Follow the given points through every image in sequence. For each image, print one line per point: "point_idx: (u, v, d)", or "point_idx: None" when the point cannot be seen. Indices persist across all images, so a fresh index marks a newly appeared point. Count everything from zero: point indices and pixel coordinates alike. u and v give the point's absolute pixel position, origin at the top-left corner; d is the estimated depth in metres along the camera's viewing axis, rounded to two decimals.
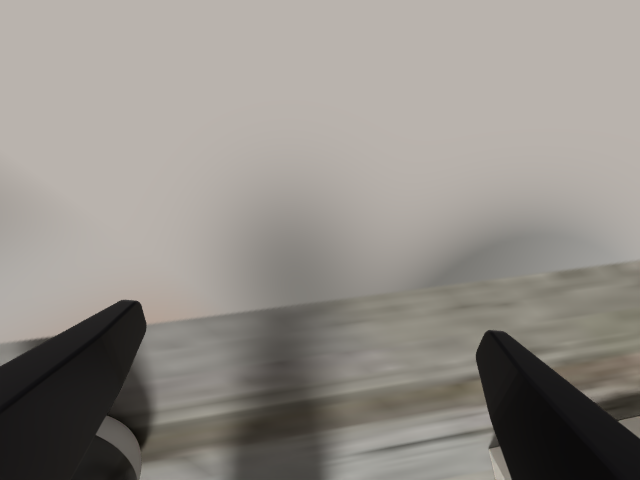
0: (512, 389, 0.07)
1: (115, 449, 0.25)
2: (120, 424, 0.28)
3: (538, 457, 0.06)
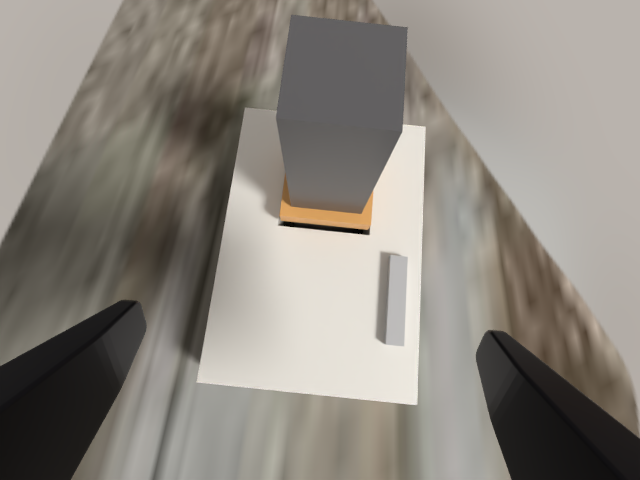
0: (512, 389, 0.07)
1: None
2: None
3: (538, 457, 0.06)
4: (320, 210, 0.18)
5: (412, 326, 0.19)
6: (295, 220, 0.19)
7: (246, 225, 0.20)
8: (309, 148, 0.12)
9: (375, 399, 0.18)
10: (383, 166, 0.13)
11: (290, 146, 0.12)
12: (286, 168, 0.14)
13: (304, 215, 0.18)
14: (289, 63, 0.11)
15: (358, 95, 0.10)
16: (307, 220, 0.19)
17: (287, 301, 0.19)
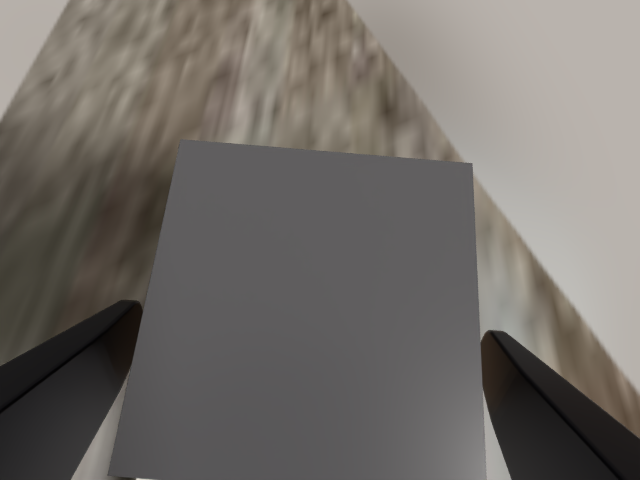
0: (512, 389, 0.07)
1: None
2: None
3: (538, 457, 0.06)
4: None
5: None
6: None
7: None
8: None
9: None
10: None
11: None
12: None
13: None
14: (165, 281, 0.04)
15: (353, 380, 0.04)
16: None
17: None
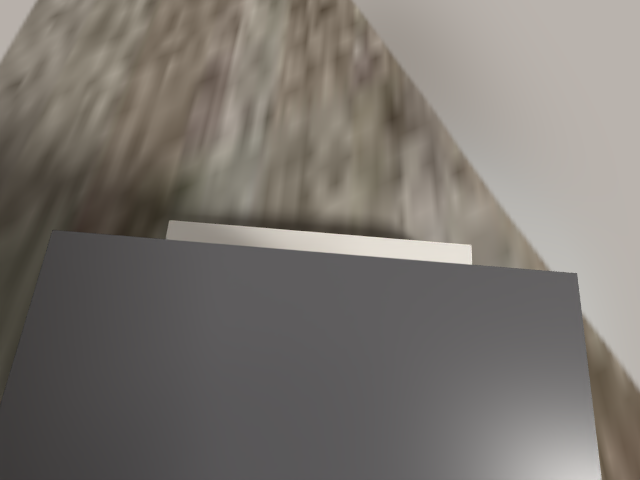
0: None
1: None
2: None
3: None
4: None
5: None
6: None
7: None
8: None
9: None
10: None
11: None
12: None
13: None
14: None
15: None
16: None
17: None
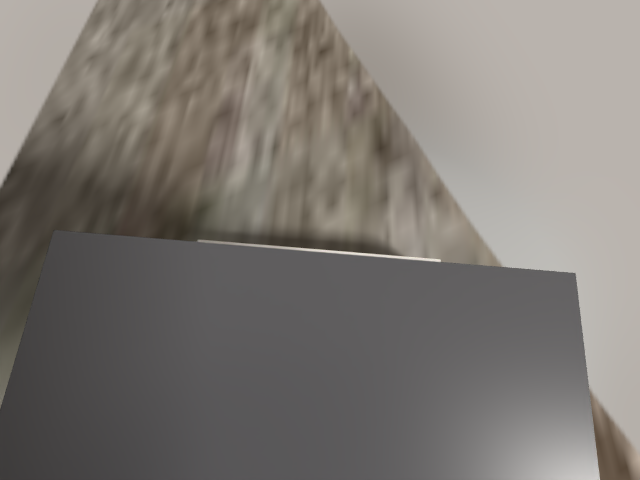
0: None
1: None
2: None
3: None
4: None
5: None
6: None
7: None
8: None
9: None
10: None
11: None
12: None
13: None
14: None
15: None
16: None
17: None
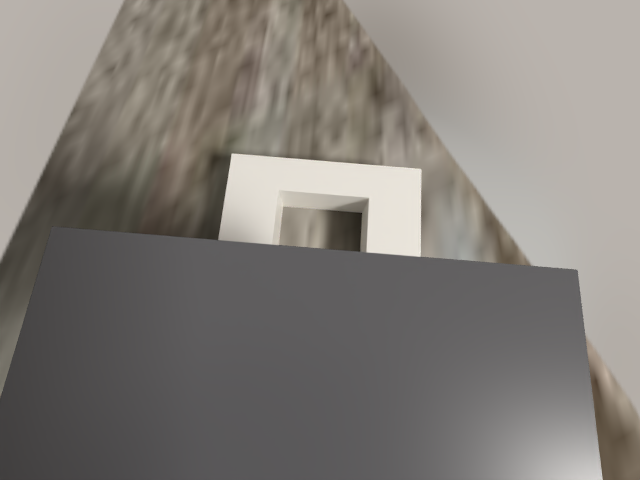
0: None
1: None
2: None
3: None
4: None
5: None
6: None
7: None
8: None
9: None
10: None
11: None
12: None
13: None
14: None
15: None
16: None
17: None
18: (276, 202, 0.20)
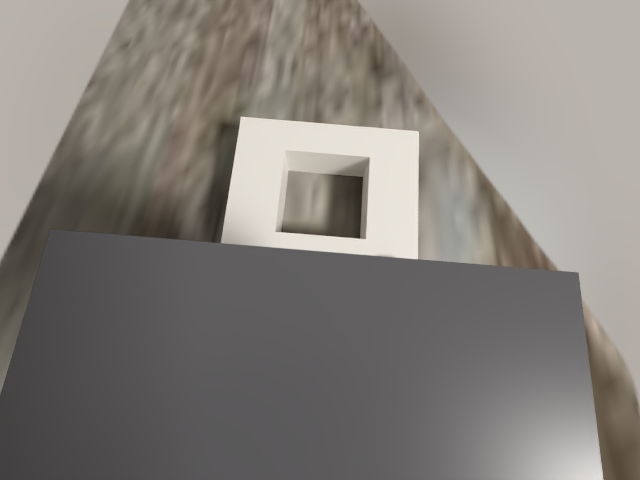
0: None
1: None
2: None
3: None
4: None
5: None
6: None
7: (244, 232, 0.20)
8: None
9: None
10: None
11: None
12: None
13: None
14: None
15: None
16: None
17: None
18: (283, 161, 0.21)
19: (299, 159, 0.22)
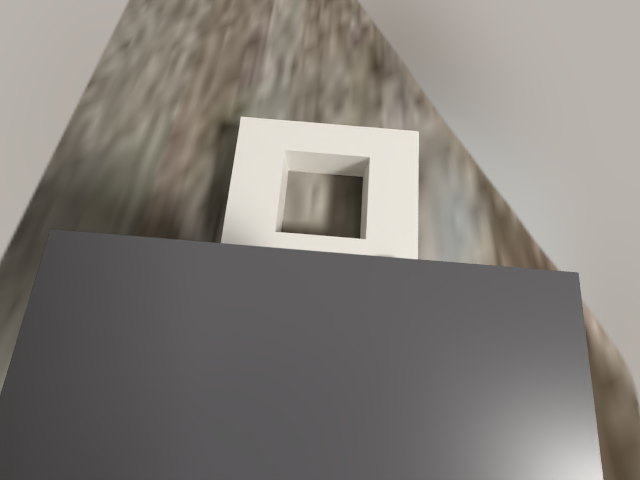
0: None
1: None
2: None
3: None
4: None
5: None
6: None
7: (244, 232, 0.20)
8: None
9: None
10: None
11: None
12: None
13: None
14: None
15: None
16: None
17: None
18: (283, 161, 0.21)
19: (299, 159, 0.22)
